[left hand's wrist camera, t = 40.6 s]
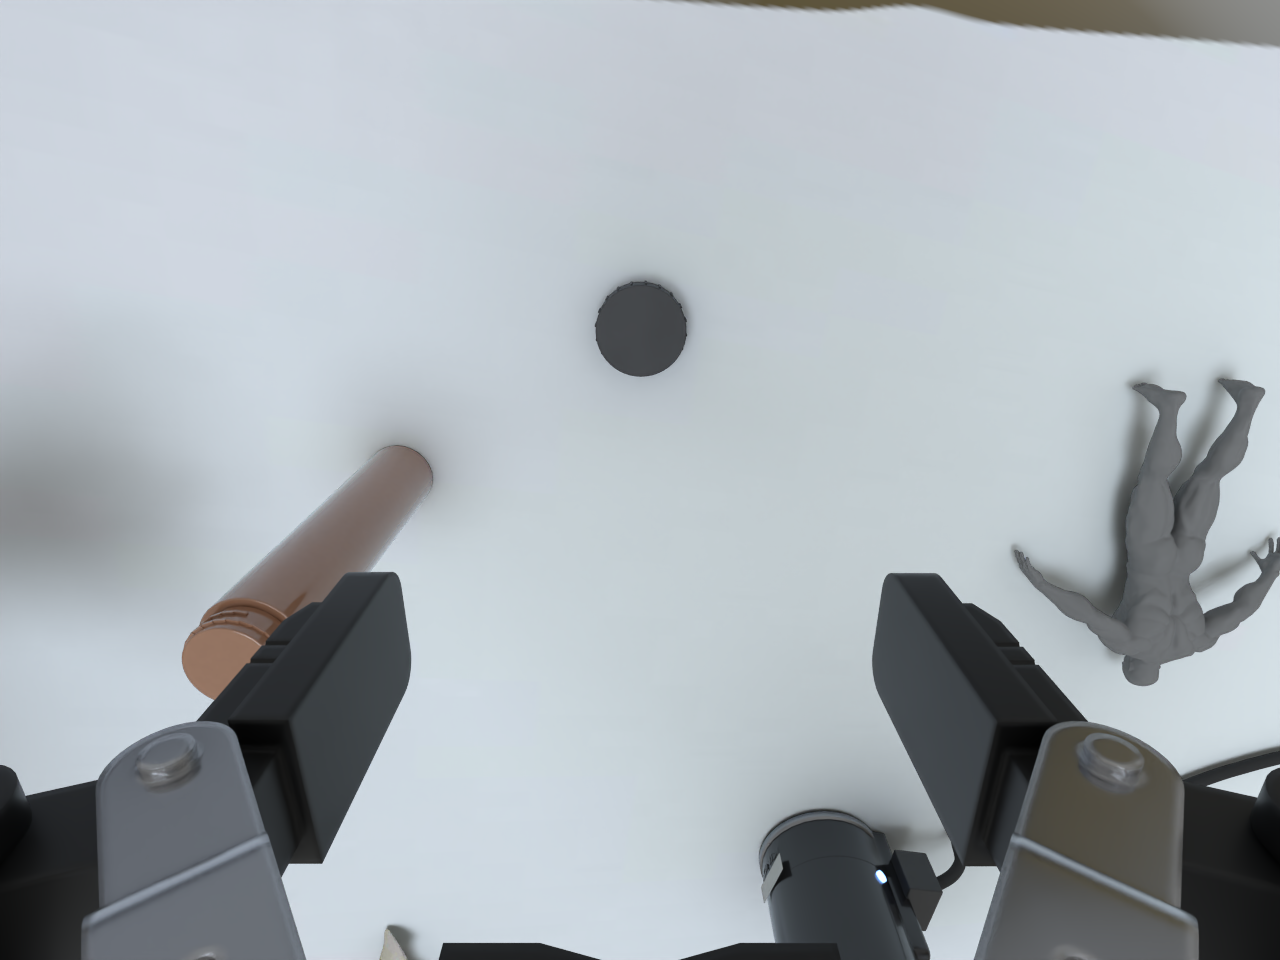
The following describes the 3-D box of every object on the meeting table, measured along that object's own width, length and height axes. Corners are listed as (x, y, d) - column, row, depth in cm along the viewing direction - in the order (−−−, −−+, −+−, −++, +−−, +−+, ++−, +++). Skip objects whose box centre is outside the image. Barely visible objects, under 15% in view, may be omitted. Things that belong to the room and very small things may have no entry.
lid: (671, 380, 41) (672, 387, 39) (587, 358, 40) (585, 364, 39) (696, 294, 39) (698, 298, 37) (608, 270, 39) (607, 273, 37)
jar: (361, 448, 42) (155, 627, 24) (424, 442, 42) (265, 616, 24) (377, 508, 44) (194, 717, 26) (438, 501, 44) (298, 707, 26)
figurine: (1031, 384, 41) (995, 671, 48) (1073, 399, 37) (1028, 710, 44) (1315, 370, 41) (1241, 660, 47) (1388, 382, 37) (1297, 698, 43)
